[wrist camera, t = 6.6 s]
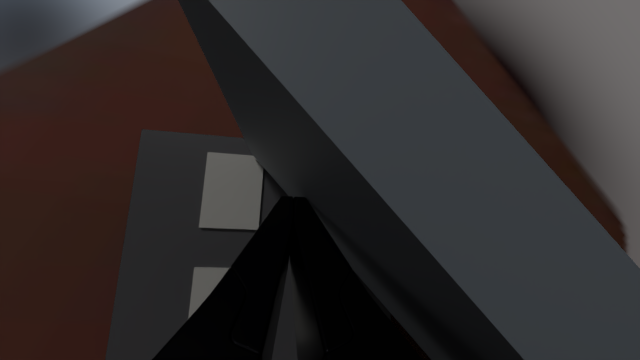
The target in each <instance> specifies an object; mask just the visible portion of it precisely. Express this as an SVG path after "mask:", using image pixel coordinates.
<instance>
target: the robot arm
mask: <svg viewBox="0 0 640 360" xmlns="http://www.w3.org/2000/svg"><path fill="white" fill-rule="evenodd" d="M289 257H290V272H291V285H292V297H293V309H294V322H295V334H296V346H297V358H298V360H423V359H422V358H421V357H420V356H419V355H418V353H417V352H416V351H415V350H414V349H413V347H412V346H411V345H410V344H409V343H408V341H407V340H406V339H405V338H404V336H403V335H402V334H401V333H400V332H399V330H398V329H397V328H396V327H395V325H394V324H393V323H392V322H391V321H390V319H389V318H388V317H387V316H386V314H385V313H384V312H383V311H382V309H381V308H380V307H379V306H378V304H377V303H376V302H375V301H374V299H373V298H372V297H371V295H370V294H369V293H368V291H367V290H366V288H365V287H364V285H363V284H362V283H361V281H360V280H359V278H358V277H357V275H356V273H355V272H354V271H353V270H352V267H351V266H350V264H349V263H348V261H347V260H346V258H345V257H344V255H343V254H342V252H341V251H340V249H339V248H338V246H337V244H336V243H335V241H334V240H333V238H332V237H331V235H330V234H329V232H328V231H327V229H326V228H325V226H324V225H323V223H322V221H321V220H320V218H319V217H318V215H317V214H316V212H315V211H314V209H313V208H312V206H311V205H310V203H309V202H308V200H307V199H306V198H305V197H298V196H295V197H294V198H293V197H292V196H281V197H280V198H279V199H278V201H277V202H276V204H275V205H274V206H273V208H272V209H271V211H270V212H269V213H268V215H267V216H266V218H265V219H264V220H263V222H262V223H261V225H260V226H259V227H258V229H257V230H256V232H255V233H254V234H253V236H252V237H251V239H250V240H249V241H248V243H247V244H246V246H245V247H244V248H243V250H242V251H241V253H240V254H239V255H238V257H237V258H236V260H235V261H234V262H233V264H232V265H231V268H229V269H228V271H227V272H226V273H225V275H224V276H223V278H222V279H221V280H220V282H219V283H218V284H217V286H216V287H215V288H214V289H213V291H212V292H211V293H210V295H209V296H208V297H207V298H206V299H205V301H204V302H203V303H202V304H201V305H200V306H199V308H198V309H197V310H196V311H195V312H194V313H193V314H192V315H191V317H190V318H189V319H188V320H187V321H186V322H185V323H184V324H183V325H182V327H181V328H180V329H179V330H178V331H177V332H176V333H175V334H174V335H173V337H172V338H171V339H170V340H169V341H168V342H167V343H166V344H165V345H164V347H163V348H162V349H161V350H160V351H159V352H158V353H157V354H156V355H155V357H154V358H153V359H152V360H272V355H273V350H274V344H275V338H276V333H277V327H278V321H279V316H280V310H281V304H282V299H283V293H284V287H285V282H286V276H287V270H288V264H289Z"/></svg>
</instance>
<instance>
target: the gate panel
mask: <svg viewBox="0 0 640 360" xmlns="http://www.w3.org/2000/svg"><path fill="white" fill-rule="evenodd" d="M178 1H179V3H180V5H181V7H182V9H183V11H184V13H185V15H186V17H187V19H188V22H189V24H190V26H191V28H192V30H193V32H194V34H195V36H196V38H197V40H198V42H199V45H200V47H201V49H202V51H203V53H204V55H205V57H206V59H207V61H208V63H209V65H210V68H211V70H212V72H213V74H214V76H215V78H216V80H217V82H218V84H219V86H220V88H221V91H222V93H223V95H224V97H225V99H226V101H227V103H228V105H229V107H230V109H231V111H232V114H233V116H234V118H235V120H236V122H237V124H238V126H239V128H240V130H241V132H242V134H243V136H244V139H245V141H246V143H247V145H248V147H249V149H250V151H251V153H252V155H253V156H254V157H255V158H256V159H257V160H258V162H259V163H260V164H261V165H262V166H263V167H264V168H265V170H266V171H267V172H268V173H269V174H270V175H271V176H272V178H273V179H274V180H275V181H276V182H277V183H278V184H279V186H280V187H281V188H282V189H283V190H284V191H285V192H286V194H287V195H288V196H292V197H293V198H294V197H295V196H298V197H305V198H306V199H307V200H308V202H309V203H310V205H311V206H312V208H313V209H314V211H315V212H316V214H317V215H318V217H319V218H320V220H321V221H322V223H323V225H324V226H325V228H326V229H327V231H328V232H329V234H330V235H331V237H332V238H333V240H334V241H335V243H336V244H337V246H338V248H339V249H340V251H341V252H342V254H343V255H344V257H345V258H346V260H347V261H348V263H349V264H350V266H351V267H352V269H353V270H354V272H355V273H356V274H357V275H358V276H359V277H360V279H361V280H362V281H363V282H364V283H365V284H366V285H367V287H368V288H369V289H370V290H371V291H372V292H373V293H374V295H375V296H376V297H377V298H378V299H379V300H380V301H381V303H382V304H383V305H384V306H385V307H386V308H387V309H388V311H389V312H390V313H391V314H392V315H393V316H394V318H395V319H396V320H397V321H398V322H399V323H400V324H401V326H402V327H403V328H404V329H405V330H406V331H407V332H408V334H409V335H410V336H411V337H412V338H413V339H414V340H415V342H416V343H417V344H418V345H419V346H420V347H421V348H422V350H423V351H424V352H425V353H426V354H427V355H428V357H429V358H430V359H431V360H640V268H638V266H637V265H636V264H635V263H634V262H633V260H631V258H630V257H629V256H628V255H627V254H626V253H625V251H624V250H623V249H622V248H621V247H620V246H619V245H618V244H617V242H616V241H615V240H614V239H613V238H612V237H611V236H610V235H609V234H608V232H607V231H606V230H605V229H604V228H603V227H602V226H601V225H600V223H599V222H598V221H597V220H596V219H595V218H594V217H593V216H592V214H591V213H590V212H589V211H588V210H587V209H586V208H585V207H584V205H583V204H582V203H581V202H580V201H579V200H578V199H577V198H576V196H575V195H574V194H573V193H572V192H571V191H570V190H569V189H568V187H567V186H566V185H565V184H564V183H563V182H562V181H561V180H560V178H559V177H558V176H557V175H556V174H555V173H554V172H553V171H552V169H551V168H550V167H549V166H548V165H547V164H546V163H545V162H544V160H543V159H542V158H541V157H540V156H539V155H538V154H537V153H536V151H535V150H534V149H533V148H532V147H531V146H530V145H529V144H528V143H527V141H526V140H525V139H524V138H523V137H522V136H521V135H520V134H519V132H518V131H517V130H516V129H515V128H514V127H513V126H512V125H511V123H510V122H509V121H508V120H507V119H506V118H505V117H504V116H503V114H502V113H501V112H500V111H499V110H498V109H497V108H496V107H495V105H494V104H493V103H492V102H491V101H490V100H489V99H488V98H487V96H486V95H485V94H484V93H483V92H482V91H481V90H480V89H479V87H478V86H477V85H476V84H475V83H474V82H473V81H472V80H471V78H470V77H469V76H468V75H467V74H466V73H465V72H464V71H463V69H462V68H461V67H460V66H459V65H458V64H457V63H456V62H455V60H454V59H453V58H452V57H451V56H450V55H449V54H448V53H447V51H446V50H445V49H444V48H443V47H442V46H441V45H440V44H439V43H438V41H437V40H436V39H435V38H434V37H433V36H432V35H431V34H430V32H429V31H428V30H427V29H426V28H425V27H424V26H423V25H422V23H421V22H420V21H419V20H418V19H417V18H416V17H415V16H414V14H413V13H412V12H411V11H410V10H409V9H408V8H407V7H406V5H405V4H404V3H403V2H402V1H401V0H178Z"/></svg>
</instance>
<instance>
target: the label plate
mask: <svg viewBox="0 0 640 360" xmlns="http://www.w3.org/2000/svg"><path fill="white" fill-rule="evenodd" d="M281 196H288V195H287V194H286V192H285V191H284V190H283V189H282V188H281V187H280V186H279V184H278V183H277V182H276V181H275V180H274V179H273V178H272V176H271V175H270V174H269V173H268V172H267V171H266V170H265V168H264V167H263V166H262V165H261V164H260V163H259V162H258V160H257V159H256V158H255V157H254V156H253V155H252V153H251V151H250V149H249V147H248V145H247V143H246V141H245V139H244V138H235V137H224V136H212V135H201V134H189V133H178V132H166V131H155V130H143V129H142V132H141V138H140V145H139V151H138V157H137V163H136V170H135V176H134V182H133V189H132V195H131V201H130V208H129V214H128V220H127V227H126V233H125V239H124V245H123V252H122V258H121V264H120V271H119V277H118V283H117V290H116V296H115V302H114V308H113V315H112V321H111V327H110V334H109V340H108V346H107V353H106V359H105V360H152V359H153V358H154V357H155V355H156V354H157V353H158V352H159V351H160V350H161V349H162V348H163V347H164V345H165V344H166V343H167V342H168V341H169V340H170V339H171V338H172V337H173V335H174V334H175V333H176V332H177V331H178V330H179V329H180V328H181V327H182V325H183V324H184V323H185V322H186V321H187V320H188V319H189V318H190V317H191V315H192V314H193V313H194V312H195V311H196V310H197V309H198V308H199V306H200V305H201V304H202V303H203V302H204V301H205V299H206V298H207V297H208V296H209V295H210V293H211V292H212V291H213V289H214V288H215V287H216V286H217V284H218V283H219V282H220V280H221V279H222V278H223V276H224V275H225V273H226V272H227V271H228V269H229V268H231V265H232V264H233V262H234V261H235V260H236V258H237V257H238V255H239V254H240V253H241V251H242V250H243V248H244V247H245V246H246V244H247V243H248V241H249V240H250V239H251V237H252V236H253V234H254V233H255V232H256V230H257V229H258V227H259V226H260V225H261V223H262V222H263V220H264V219H265V218H266V216H267V215H268V213H269V212H270V211H271V209H272V208H273V206H274V205H275V204H276V202H277V201H278V199H279V198H280V197H281ZM352 270H353V269H352ZM353 271H354V270H353ZM356 275H357V274H356ZM357 277H358V278H359V280H360V281H361V283H362V284H363V285H364V287H365V288H366V290H367V291H368V293H369V294H370V295H371V297H372V298H373V299H374V301H375V302H376V303H377V304H378V306H379V307H380V308H381V309H382V311H383V312H384V313H385V314H386V316H387V317H388V318H389V319H390V321H391V313H390V312H389V311H388V309H387V308H386V307H385V306H384V305H383V304H382V303H381V301H380V300H379V299H378V298H377V297H376V296H375V295H374V293H373V292H372V291H371V290H370V289H369V288H368V287H367V285H366V284H365V283H364V282H363V281H362V280H361V279H360V277H359V276H358V275H357ZM272 360H298V358H297V346H296V334H295V322H294V309H293V297H292V285H291V272H290V257H289V264H288V270H287V276H286V282H285V287H284V293H283V299H282V304H281V310H280V316H279V321H278V327H277V333H276V338H275V344H274V350H273V355H272Z"/></svg>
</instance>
